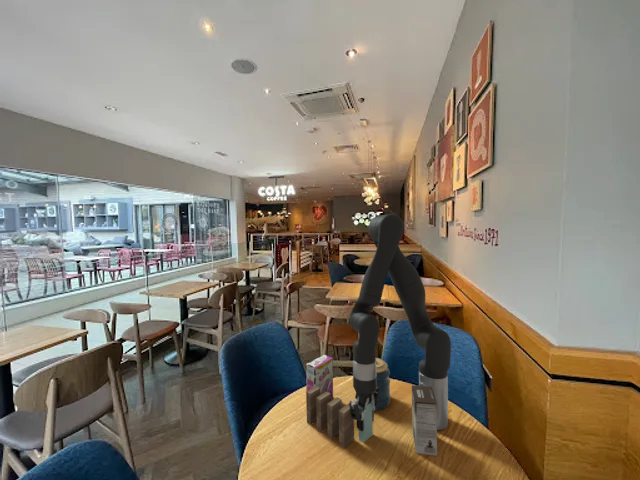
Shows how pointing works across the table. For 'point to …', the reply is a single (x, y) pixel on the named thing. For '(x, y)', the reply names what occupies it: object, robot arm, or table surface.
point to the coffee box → (424, 420)
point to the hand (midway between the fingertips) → (365, 424)
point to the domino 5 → (366, 424)
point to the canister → (382, 384)
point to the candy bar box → (320, 374)
